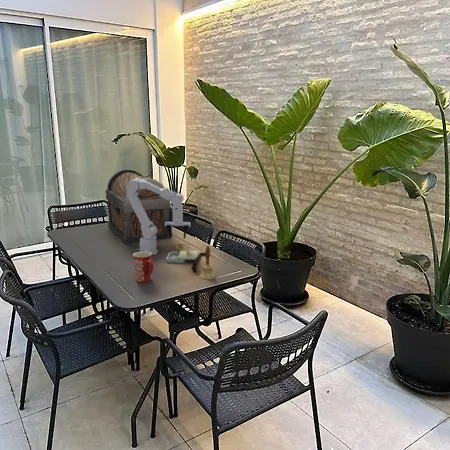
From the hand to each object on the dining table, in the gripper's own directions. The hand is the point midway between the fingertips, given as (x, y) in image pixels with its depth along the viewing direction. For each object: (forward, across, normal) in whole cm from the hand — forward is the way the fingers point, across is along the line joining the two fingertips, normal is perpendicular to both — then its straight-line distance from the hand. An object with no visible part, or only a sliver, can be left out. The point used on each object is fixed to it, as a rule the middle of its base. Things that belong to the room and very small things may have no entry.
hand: (177, 238), depth 239 cm
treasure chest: (+10, -33, +42) cm, 55 cm away
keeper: (+10, +8, -8) cm, 15 cm away
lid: (+8, +7, -8) cm, 13 cm away
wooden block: (+10, +1, +2) cm, 10 cm away
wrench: (+10, +14, -14) cm, 23 cm away
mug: (+10, -10, -40) cm, 43 cm away
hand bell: (+10, +20, -32) cm, 39 cm away
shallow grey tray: (+10, 0, -8) cm, 13 cm away
